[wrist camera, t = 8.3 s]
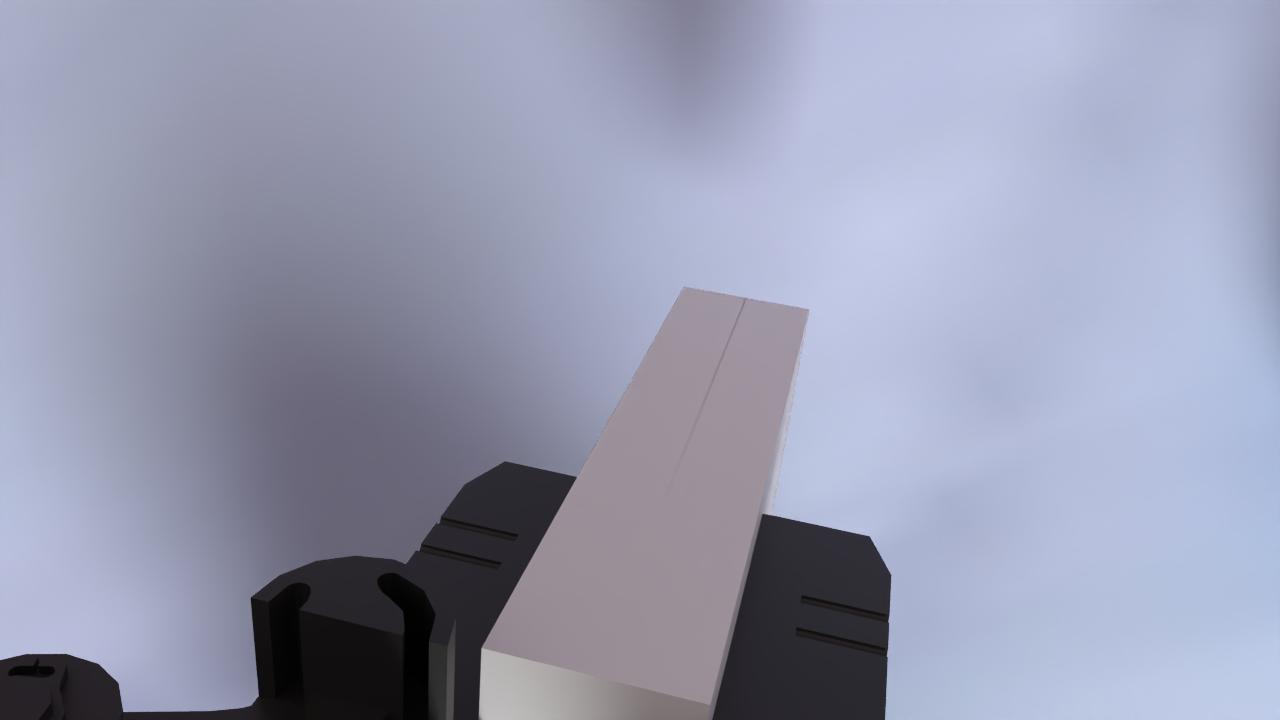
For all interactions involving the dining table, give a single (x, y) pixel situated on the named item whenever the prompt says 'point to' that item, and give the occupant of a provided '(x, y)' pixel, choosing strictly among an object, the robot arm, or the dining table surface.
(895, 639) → the dining table surface
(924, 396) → the dining table surface
